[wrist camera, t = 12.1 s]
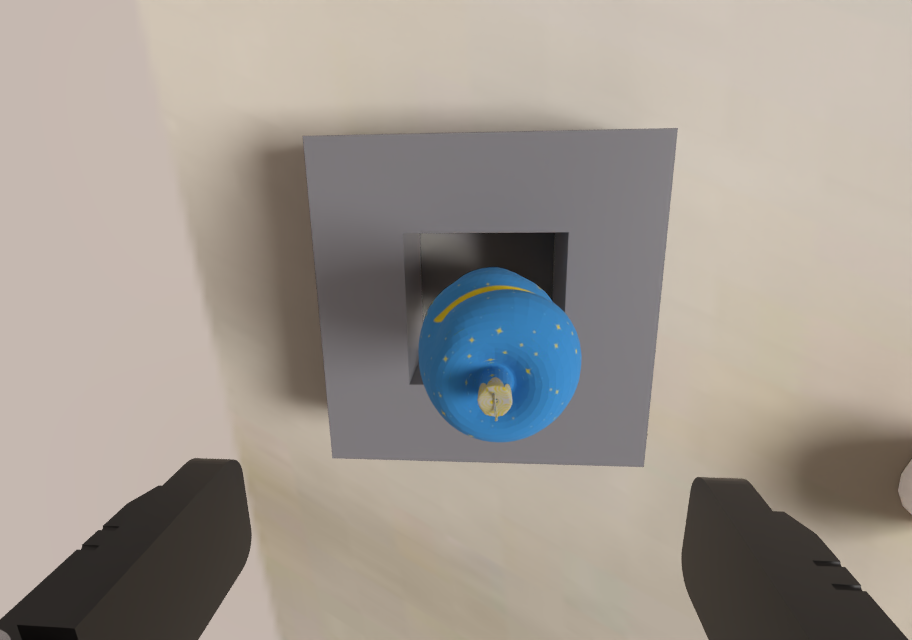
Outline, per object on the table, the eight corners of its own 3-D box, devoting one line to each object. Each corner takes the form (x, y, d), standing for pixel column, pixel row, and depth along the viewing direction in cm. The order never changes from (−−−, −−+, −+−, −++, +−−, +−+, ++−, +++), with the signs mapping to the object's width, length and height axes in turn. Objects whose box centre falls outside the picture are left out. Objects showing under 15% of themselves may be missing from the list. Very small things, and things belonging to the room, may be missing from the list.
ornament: (538, 232, 26) (592, 292, 12) (549, 327, 28) (609, 486, 13) (440, 246, 27) (378, 320, 12) (454, 339, 28) (413, 503, 14)
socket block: (338, 142, 26) (302, 136, 21) (642, 136, 25) (677, 128, 20) (358, 412, 30) (332, 458, 25) (619, 417, 29) (643, 467, 24)
